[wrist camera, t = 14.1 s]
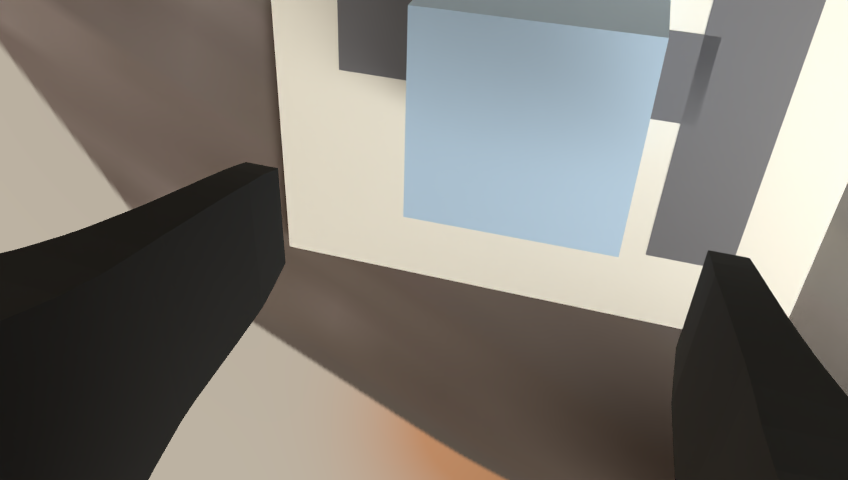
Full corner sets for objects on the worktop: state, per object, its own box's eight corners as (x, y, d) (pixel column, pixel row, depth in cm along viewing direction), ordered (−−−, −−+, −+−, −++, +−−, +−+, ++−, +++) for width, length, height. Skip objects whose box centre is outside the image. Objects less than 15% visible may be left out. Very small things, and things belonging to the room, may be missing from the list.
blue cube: (672, -33, 18) (668, 37, 14) (630, 154, 20) (618, 257, 17) (466, -55, 19) (408, 4, 15) (454, 126, 22) (403, 216, 18)
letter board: (1044, -298, 14) (1056, -300, 13) (774, 338, 23) (775, 349, 23) (256, -333, 17) (245, -334, 17) (295, 238, 26) (289, 246, 26)
